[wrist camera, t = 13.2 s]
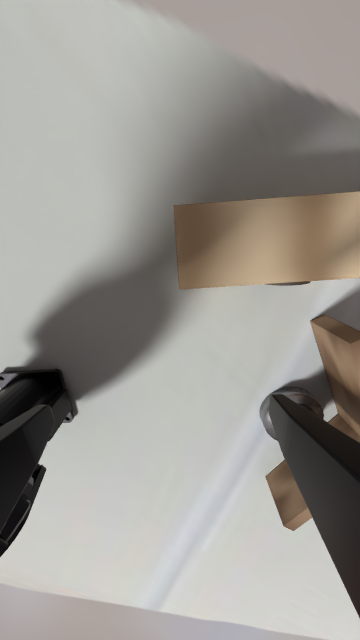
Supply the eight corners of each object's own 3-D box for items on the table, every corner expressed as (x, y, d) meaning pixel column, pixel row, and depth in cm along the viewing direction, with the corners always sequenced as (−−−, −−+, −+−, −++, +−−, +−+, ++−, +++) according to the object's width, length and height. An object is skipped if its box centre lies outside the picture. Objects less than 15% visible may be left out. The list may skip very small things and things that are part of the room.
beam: (180, 283, 19) (179, 294, 14) (175, 217, 17) (173, 205, 13) (362, 271, 19) (424, 278, 14) (376, 202, 17) (453, 184, 12)
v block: (264, 480, 27) (282, 530, 22) (312, 314, 20) (353, 334, 15) (326, 484, 27) (357, 534, 22) (396, 320, 20) (463, 342, 15)
